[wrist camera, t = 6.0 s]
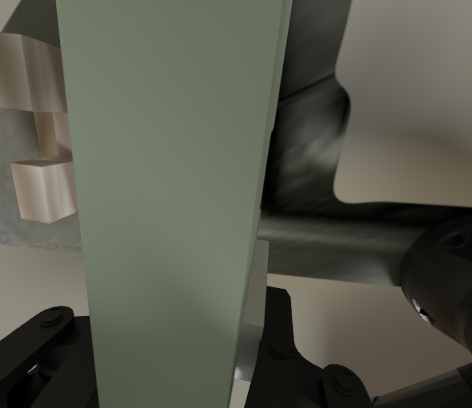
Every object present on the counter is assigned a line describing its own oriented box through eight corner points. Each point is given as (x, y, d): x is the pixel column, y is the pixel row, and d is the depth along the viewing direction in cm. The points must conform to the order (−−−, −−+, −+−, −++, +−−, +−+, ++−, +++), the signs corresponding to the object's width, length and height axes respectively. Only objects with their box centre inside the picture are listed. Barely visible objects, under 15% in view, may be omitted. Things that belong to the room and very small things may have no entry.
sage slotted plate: (227, -9, 11) (-17, -664, 2) (293, -5, 11) (391, -781, 2) (204, 283, 16) (108, 494, 7) (249, 291, 16) (209, 525, 7)
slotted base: (178, 68, 28) (116, 33, 17) (175, 202, 33) (125, 241, 22) (35, 55, 30) (-102, 17, 19) (54, 183, 35) (-46, 211, 24)
